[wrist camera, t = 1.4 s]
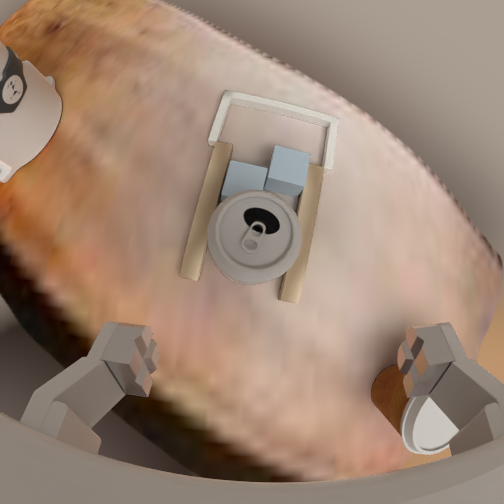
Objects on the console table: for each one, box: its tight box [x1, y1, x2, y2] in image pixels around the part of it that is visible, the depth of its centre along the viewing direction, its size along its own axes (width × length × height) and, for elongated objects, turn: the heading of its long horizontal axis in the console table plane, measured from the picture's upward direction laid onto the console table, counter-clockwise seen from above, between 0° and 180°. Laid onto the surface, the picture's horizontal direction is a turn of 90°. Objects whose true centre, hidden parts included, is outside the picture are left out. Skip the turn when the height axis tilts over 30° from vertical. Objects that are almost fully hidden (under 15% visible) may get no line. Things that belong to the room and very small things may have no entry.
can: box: [207, 190, 302, 285], centre depth 28 cm, size 8×8×12 cm
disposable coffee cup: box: [371, 365, 459, 455], centre depth 27 cm, size 10×10×12 cm
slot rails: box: [179, 141, 324, 304], centre depth 33 cm, size 13×16×2 cm
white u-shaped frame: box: [208, 90, 339, 174], centre depth 35 cm, size 15×8×2 cm, turn 77°
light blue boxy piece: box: [221, 160, 268, 201], centre depth 33 cm, size 4×4×4 cm
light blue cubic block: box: [264, 145, 311, 197], centre depth 33 cm, size 4×4×4 cm
